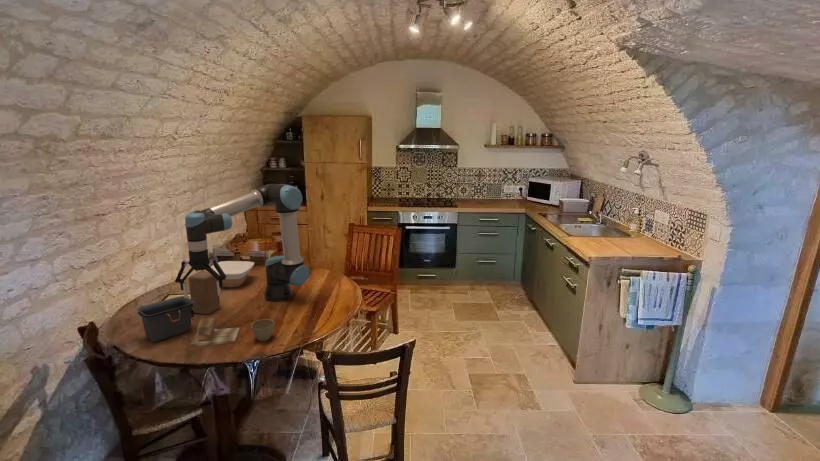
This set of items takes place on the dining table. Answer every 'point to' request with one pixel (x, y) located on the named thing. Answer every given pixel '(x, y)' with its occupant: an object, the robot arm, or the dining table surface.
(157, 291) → the dining table surface
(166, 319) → the storage bin
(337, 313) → the dining table surface
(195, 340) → the board
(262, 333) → the flower pot
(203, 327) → the block
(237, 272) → the bowl
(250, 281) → the dining table surface
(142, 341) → the dining table surface
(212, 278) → the wooden block
